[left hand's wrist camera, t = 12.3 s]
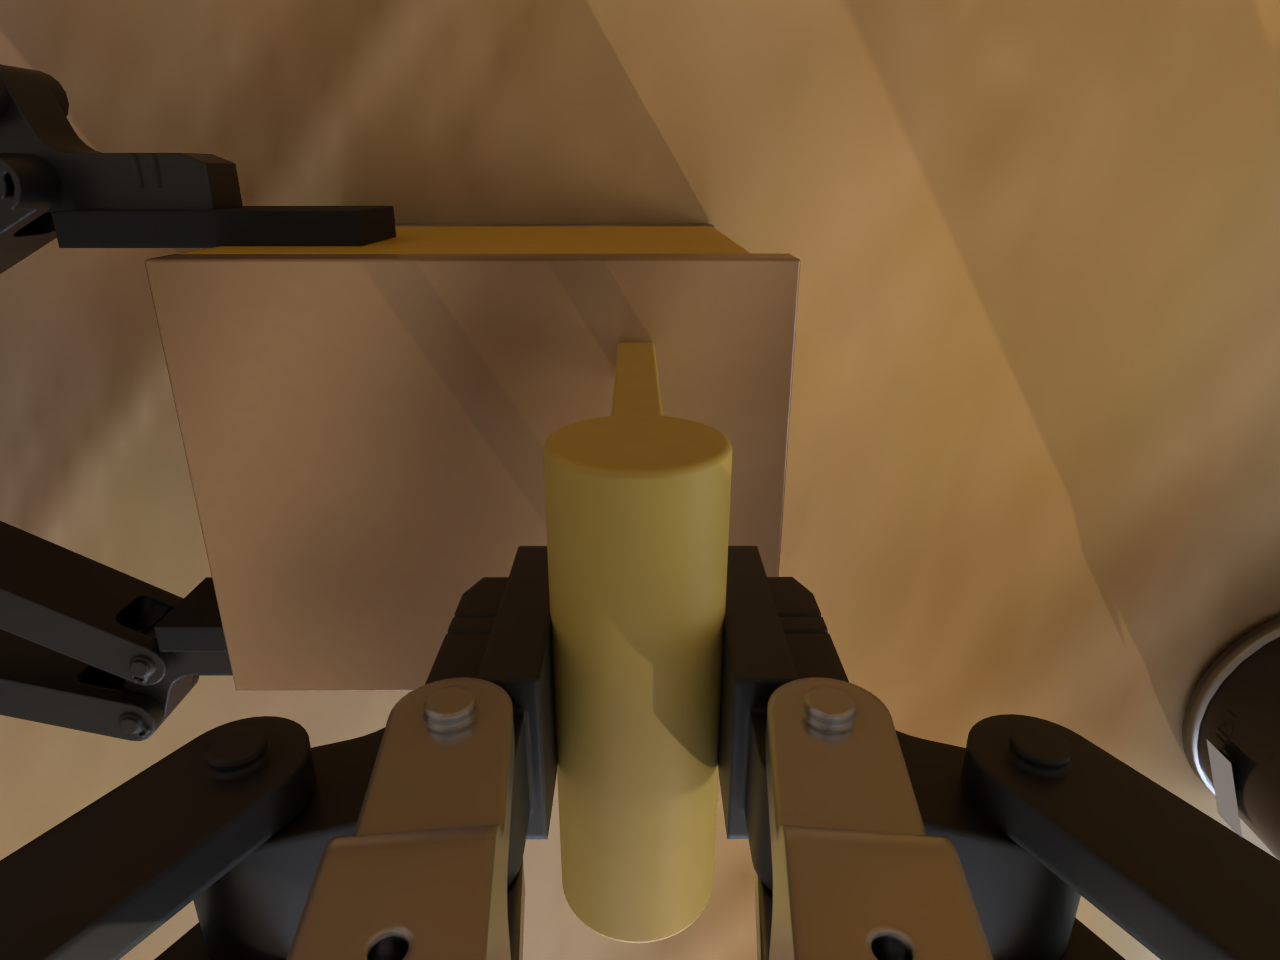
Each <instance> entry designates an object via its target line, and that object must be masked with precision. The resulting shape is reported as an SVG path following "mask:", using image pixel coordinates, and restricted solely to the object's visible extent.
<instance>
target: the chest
mask: <svg viewBox="0 0 1280 960" xmlns="http://www.w3.org/2000/svg"><path fill="white" fill-rule="evenodd" d="M395 229H396V237H394V238H391V239H387V240H383V241H380V242H376V243H372V244H368V245H365V246H220V247H214V248H209V249H203V250H197V251H192V252H186V253H182V254H751V253H749V252H748V251H746V250H745V249H743V248H742V247H741V246H739V245H738V244H736V243H735V242H733V241H732V240H731V239H729V238H728V237H726V236H725V235H723V234H722V233H721V232H719V231H718V230H716V229H715V228H714V226H713V225H712V224H395Z"/></svg>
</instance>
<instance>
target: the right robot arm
mask: <svg viewBox="0 0 1280 960" xmlns="http://www.w3.org/2000/svg"><path fill="white" fill-rule="evenodd" d="M68 107H69V103H68V99H67V95H66V92H65V91H64V89H63V88H62V86H61V85H60V83H59V82H58V81H57V80H55V79H54V78H53V77H52V76H50V75H49V74H46V73H43V72H40V71H36V70H30V69H24V68H18V67H12V66H6V65H0V274H1V273H3V272H4V271H6V270H7V269H9V268H10V267H12V266H13V265H15V264H17V263H18V262H20V261H21V260H23V259H24V258H26V257H27V256H29V255H30V254H32V253H33V252H35V251H37V250H38V249H40V248H41V247H43V246H44V245H46V244H47V243H49V242H50V241H52V240H53V239H55V238H57V239H58V243H59V247H60V248H214V247H220V246H365V245H368V244H372V243H376V242H380V241H383V240H387V239H391V238H394V237H396V229H395V220H394V210H393V206H242V200H241V194H240V188H239V182H238V176H237V170H236V164H235V163H232V162H230V161H227V160H225V159H222V158H220V157H217V156H215V155H212V154H191V153H101V152H98V151H95V150H93V149H92V148H90V147H89V146H87V145H86V144H85V143H84V142H83V141H82V140H81V139H80V138H79V137H78V136H77V134H76V133H75V131H74V130H73V128H72V126H71V125H70V123H69V121H68V119H67V118H66V116H67V115H68ZM199 675H233V673H232V668H231V664H230V659H229V654H228V650H227V645H226V640H225V636H224V631H223V626H222V622H221V617H220V612H219V607H218V603H217V598H216V593H215V589H214V584H213V579H212V578H205V579H204V580H203V581H202V582H201V583H200V584H199V585H198V586H197V587H196V588H195V589H194V590H193V591H192V592H190V593H189V594H188V595H187V596H186V597H185V598H184V599H183V598H181V597H179V596H176V595H174V594H172V593H169V592H167V591H164V590H162V589H160V588H157V587H155V586H153V585H150V584H148V583H146V582H143V581H141V580H139V579H136V578H134V577H131V576H129V575H127V574H124V573H122V572H120V571H117V570H115V569H113V568H110V567H108V566H106V565H103V564H101V563H98V562H96V561H94V560H91V559H89V558H87V557H84V556H82V555H80V554H77V553H75V552H73V551H70V550H68V549H65V548H63V547H61V546H58V545H56V544H54V543H51V542H49V541H47V540H44V539H42V538H40V537H37V536H35V535H32V534H30V533H28V532H25V531H23V530H21V529H18V528H16V527H14V526H11V525H9V524H7V523H4V522H2V521H0V715H5V716H10V717H15V718H20V719H25V720H30V721H35V722H40V723H45V724H50V725H55V726H60V727H65V728H70V729H75V730H80V731H86V732H91V733H96V734H101V735H106V736H111V737H116V738H121V739H126V740H131V741H142V740H145V739H148V738H149V737H150V736H151V735H152V734H153V733H154V732H155V731H156V730H157V728H158V727H159V726H160V725H161V724H162V723H163V722H164V720H165V719H166V718H167V717H168V716H169V715H170V713H171V712H172V711H173V710H174V709H175V708H176V706H177V705H178V704H179V703H180V702H181V701H182V700H183V698H184V697H185V696H186V695H187V694H188V693H189V691H190V690H191V689H192V688H193V687H194V686H195V684H196V683H197V682H198V679H199Z"/></svg>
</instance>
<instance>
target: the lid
mask: <svg viewBox="0 0 1280 960" xmlns="http://www.w3.org/2000/svg"><path fill="white" fill-rule="evenodd" d="M145 265H146V270H147V274H148V279H149V284H150V289H151V293H152V298H153V303H154V307H155V312H156V317H157V321H158V326H159V331H160V335H161V340H162V345H163V350H164V354H165V359H166V364H167V368H168V373H169V378H170V382H171V387H172V392H173V396H174V401H175V406H176V410H177V415H178V420H179V425H180V429H181V434H182V439H183V443H184V448H185V453H186V457H187V462H188V467H189V471H190V476H191V481H192V486H193V490H194V495H195V500H196V504H197V509H198V514H199V518H200V523H201V528H202V532H203V537H204V542H205V546H206V551H207V556H208V561H209V565H210V570H211V575H212V579H213V584H214V589H215V593H216V598H217V603H218V607H219V612H220V617H221V622H222V626H223V631H224V636H225V640H226V645H227V650H228V654H229V659H230V664H231V668H232V673H233V678H234V682H235V687H236V691H238V692H244V691H413V690H415V689H417V688H419V687H421V686H423V685H425V683H426V681H427V678H428V676H429V673H430V671H431V669H432V666H433V664H434V661H435V659H436V657H437V654H438V652H439V650H440V647H441V645H442V642H443V640H444V638H445V635H446V634H448V628H449V626H450V623H451V621H452V618H454V617H455V611H456V609H457V607H458V604H459V602H460V599H461V597H462V595H463V593H465V592H466V591H467V590H468V589H470V588H471V587H472V586H473V585H475V584H476V583H477V582H478V581H480V580H481V579H482V578H483V577H509V574H510V571H511V568H512V565H513V562H514V559H515V556H516V553H517V550H518V547H519V546H547V554H548V576H549V598H550V614H551V624H552V646H553V668H554V690H555V713H556V735H557V757H558V766H557V774H558V796H559V818H560V840H561V862H562V883H563V890H564V894H565V897H566V899H567V901H568V904H569V906H570V907H571V909H572V910H573V912H574V913H575V914H576V916H577V917H578V918H579V919H580V920H581V921H582V922H583V923H584V924H585V925H586V926H588V927H589V928H590V929H592V930H593V931H595V932H597V933H598V934H600V935H603V936H605V937H607V938H610V939H614V940H617V941H622V942H628V943H647V942H653V941H659V940H662V939H665V938H669V937H671V936H673V935H675V934H677V933H679V932H681V931H682V930H684V929H686V928H687V927H688V926H689V925H691V924H692V923H693V922H694V921H695V920H696V919H697V918H698V917H699V916H700V914H701V913H702V911H703V910H704V908H705V907H706V906H707V903H708V901H709V899H710V897H711V893H712V890H713V883H714V862H715V839H716V816H717V793H718V747H719V723H720V700H721V677H722V653H723V630H724V617H725V609H726V586H727V562H728V546H757V547H758V550H759V553H760V556H761V560H762V563H763V566H764V569H765V572H766V576H767V577H779V565H780V550H781V536H782V521H783V507H784V492H785V478H786V464H787V449H788V435H789V420H790V406H791V391H792V377H793V362H794V348H795V333H796V319H797V304H798V290H799V275H800V259H798V258H796V257H794V256H792V255H790V254H173V255H168V256H162V257H156V258H151V259H147V260H145Z"/></svg>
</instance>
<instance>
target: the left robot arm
mask: <svg viewBox="0 0 1280 960" xmlns="http://www.w3.org/2000/svg"><path fill="white" fill-rule="evenodd" d="M1182 736H1183V746H1184V751H1185V754H1186V757H1187V760H1188V762H1189V764H1190V766H1191V768H1192V769H1193V771H1194V772H1195V774H1196V775H1197V776H1198V777H1199V778H1200V780H1201V781H1202V782H1203V783H1204V784H1205V785H1206V786H1207V787H1208V788H1209V789H1210V790H1211V792H1212V793H1213V794H1214V795H1215V796H1216V803H1217V809H1218V814H1219V815H1220V816H1221V817H1222V818H1223V819H1224V820H1225V821H1226V822H1227V824H1228V825H1229V826H1230V827H1231V828H1232V829H1233V830H1234V831H1235V832H1236V833H1235V832H1233V831H1231V830H1230V829H1228V828H1227V827H1225V826H1224V825H1222V824H1220V823H1219V822H1217V821H1216V820H1214V819H1212V818H1211V817H1209V816H1208V815H1206V814H1204V813H1203V812H1201V811H1200V810H1198V809H1196V808H1195V807H1193V806H1192V805H1190V804H1188V803H1187V802H1185V801H1184V800H1182V799H1181V798H1179V797H1177V796H1176V795H1174V794H1173V793H1171V792H1169V791H1168V790H1166V789H1165V788H1163V787H1161V786H1160V785H1158V784H1157V783H1155V782H1153V781H1152V780H1150V779H1149V778H1147V777H1145V776H1144V775H1142V774H1141V773H1139V772H1137V771H1136V770H1134V769H1133V768H1131V767H1130V766H1128V765H1126V764H1125V763H1123V762H1122V761H1120V760H1118V759H1117V758H1115V757H1114V756H1112V755H1110V754H1109V753H1107V752H1106V751H1104V750H1102V749H1101V748H1099V747H1098V746H1096V745H1094V744H1093V743H1091V742H1090V741H1088V740H1086V739H1085V738H1083V737H1082V736H1080V735H1078V734H1077V733H1075V732H1073V731H1071V730H1069V729H1067V728H1065V727H1063V726H1061V725H1058V724H1055V723H1053V722H1050V721H1047V720H1043V719H1039V718H1036V717H1030V716H1024V715H1013V714H1011V715H997V716H992V717H988V718H985V719H983V720H981V721H979V722H978V723H976V724H975V725H974V726H973V727H972V729H971V730H970V732H969V735H968V740H967V746H966V748H962V747H958V746H953V745H948V744H944V743H939V742H934V741H930V740H925V739H921V738H917V737H913V736H910V735H907V734H904V733H901V732H899V731H896V730H895V727H894V724H893V721H892V717H891V715H890V713H889V710H888V709H887V708H886V706H885V705H884V704H883V703H882V702H881V701H880V700H879V699H878V698H877V697H876V696H874V695H873V694H872V693H870V692H869V691H867V690H865V689H863V688H861V687H859V686H857V685H854V684H852V683H849V681H848V679H847V676H846V674H845V671H844V669H843V666H842V664H841V661H840V659H839V656H838V654H837V652H836V649H835V647H834V644H833V642H832V639H831V637H830V634H828V632H827V627H826V625H825V622H824V620H823V617H821V612H820V610H819V608H818V605H817V603H816V600H815V598H814V595H813V594H812V593H811V592H810V591H809V590H808V589H806V588H805V587H804V586H803V585H801V584H800V583H799V582H798V581H797V580H795V579H794V578H793V577H767V576H766V572H765V569H764V566H763V563H762V560H761V556H760V553H759V550H758V547H757V546H728V562H727V586H726V609H725V617H724V630H723V653H722V677H721V700H720V723H719V747H718V771H719V778H720V786H721V794H722V801H723V809H724V817H725V825H726V832H727V839H749V844H750V850H751V856H752V862H753V865H754V869H755V871H756V884H755V905H756V933H757V960H1125V959H1124V958H1123V957H1122V956H1121V955H1119V954H1118V953H1117V952H1116V951H1115V950H1113V949H1112V948H1111V947H1110V946H1109V945H1107V944H1106V943H1105V942H1104V941H1103V940H1101V939H1100V938H1099V937H1098V936H1097V935H1095V934H1094V933H1093V932H1092V931H1091V930H1090V929H1088V928H1087V927H1086V926H1085V925H1084V924H1082V923H1081V922H1080V921H1079V920H1078V919H1076V918H1075V916H1076V912H1077V908H1078V904H1079V900H1080V897H1081V896H1083V897H1084V898H1085V899H1086V900H1088V901H1089V902H1090V903H1091V904H1093V905H1094V906H1095V907H1096V908H1098V909H1099V910H1100V911H1101V912H1102V913H1104V914H1105V915H1106V916H1107V917H1109V918H1110V919H1111V920H1112V921H1114V922H1115V923H1116V924H1117V925H1119V926H1120V927H1121V928H1122V929H1124V930H1125V931H1126V932H1127V933H1129V934H1130V935H1131V936H1132V937H1134V938H1135V939H1136V940H1137V941H1139V942H1140V943H1141V944H1142V945H1143V946H1145V947H1146V948H1147V949H1148V950H1150V951H1151V952H1152V953H1153V954H1155V955H1156V956H1157V957H1158V958H1160V959H1161V960H1280V616H1279V617H1277V618H1274V619H1272V620H1270V621H1268V622H1266V623H1264V624H1262V625H1261V626H1259V627H1257V628H1255V629H1253V630H1252V631H1250V632H1249V633H1247V634H1246V635H1244V636H1243V637H1241V638H1240V639H1239V640H1237V641H1236V642H1235V643H1234V644H1232V645H1231V646H1230V647H1229V648H1228V649H1227V650H1225V651H1224V652H1223V653H1222V654H1221V655H1220V656H1219V657H1218V658H1217V659H1216V660H1215V661H1214V662H1213V663H1212V665H1211V666H1210V667H1209V668H1208V670H1207V671H1206V672H1205V673H1204V675H1203V676H1202V678H1201V679H1200V681H1199V682H1198V684H1197V686H1196V688H1195V689H1194V691H1193V693H1192V695H1191V698H1190V700H1189V702H1188V705H1187V708H1186V711H1185V716H1184V721H1183V730H1182ZM557 766H558V757H557V735H556V713H555V690H554V668H553V646H552V624H551V614H550V598H549V576H548V554H547V546H519V547H518V550H517V553H516V556H515V559H514V562H513V565H512V568H511V571H510V574H509V577H483V578H482V579H481V580H480V581H478V582H477V583H476V584H475V585H473V586H472V587H471V588H470V589H468V590H467V591H466V592H465V593H463V595H462V597H461V599H460V602H459V604H458V607H457V609H456V611H455V617H454V618H452V621H451V623H450V626H449V628H448V634H446V635H445V638H444V640H443V642H442V645H441V647H440V650H439V652H438V654H437V657H436V659H435V661H434V664H433V666H432V669H431V671H430V673H429V676H428V678H427V681H426V683H425V685H423V686H421V687H419V688H417V689H415V690H413V691H411V692H410V693H408V694H407V695H406V696H404V697H403V698H402V699H401V700H400V701H399V702H398V703H397V704H396V705H395V706H394V708H393V709H392V710H391V713H390V715H389V717H388V721H387V724H386V727H385V728H383V729H381V730H379V731H376V732H374V733H371V734H368V735H365V736H362V737H359V738H355V739H351V740H346V741H342V742H337V743H332V744H328V745H323V746H318V747H314V748H311V747H310V741H309V736H308V734H307V732H306V730H305V729H304V728H303V727H302V726H301V725H300V724H298V723H296V722H294V721H292V720H289V719H286V718H281V717H270V716H263V717H252V718H246V719H241V720H237V721H233V722H230V723H227V724H224V725H221V726H218V727H216V728H214V729H212V730H210V731H207V732H206V733H204V734H202V735H200V736H198V737H197V738H195V739H193V740H192V741H190V742H189V743H187V744H186V745H184V746H182V747H181V748H179V749H178V750H176V751H174V752H173V753H171V754H170V755H168V756H166V757H165V758H163V759H162V760H160V761H158V762H157V763H155V764H154V765H152V766H150V767H149V768H147V769H146V770H144V771H142V772H141V773H139V774H138V775H136V776H135V777H133V778H131V779H130V780H128V781H127V782H125V783H123V784H122V785H120V786H119V787H117V788H115V789H114V790H112V791H111V792H109V793H107V794H106V795H104V796H103V797H101V798H99V799H98V800H96V801H95V802H93V803H92V804H90V805H88V806H87V807H85V808H84V809H82V810H80V811H79V812H77V813H76V814H74V815H72V816H71V817H69V818H68V819H66V820H64V821H63V822H61V823H60V824H58V825H56V826H55V827H53V828H52V829H50V830H48V831H47V832H45V833H44V834H42V835H41V836H39V837H37V838H36V839H34V840H33V841H31V842H29V843H28V844H26V845H25V846H23V847H21V848H20V849H18V850H17V851H15V852H13V853H12V854H10V855H9V856H7V857H5V858H4V859H2V860H1V861H0V960H119V959H120V958H122V957H123V956H124V955H125V954H127V953H128V952H129V951H130V950H132V949H133V948H134V947H135V946H136V945H138V944H139V943H140V942H141V941H143V940H144V939H145V938H146V937H148V936H149V935H150V934H151V933H153V932H154V931H155V930H156V929H158V928H159V927H160V926H161V925H163V924H164V923H165V922H166V921H168V920H169V919H170V918H171V917H173V916H174V915H175V914H176V913H177V912H179V911H180V910H181V909H182V908H184V907H185V906H186V905H187V904H189V903H190V902H191V901H192V900H194V904H195V908H196V911H197V915H198V919H199V923H198V924H196V925H195V926H194V927H193V928H192V929H190V930H189V931H188V932H187V933H186V934H184V935H183V936H182V937H181V938H180V939H179V940H177V941H176V942H175V943H174V944H173V945H171V946H170V947H169V948H168V949H167V950H165V951H164V952H163V953H162V954H161V955H159V956H158V957H157V958H156V959H155V960H523V933H524V905H525V884H524V869H523V853H524V847H525V841H526V839H548V832H549V825H550V817H551V810H552V803H553V796H554V788H555V781H556V774H557ZM1239 817H1240V818H1241V819H1242V820H1243V822H1244V823H1245V824H1246V825H1247V826H1248V827H1249V828H1250V829H1251V830H1252V831H1253V832H1254V833H1255V834H1256V835H1257V837H1258V838H1259V839H1260V840H1261V841H1262V842H1263V843H1264V844H1265V845H1266V846H1267V847H1268V849H1269V850H1270V851H1271V852H1272V853H1273V855H1274V856H1275V857H1276V858H1277V859H1276V858H1275V857H1273V856H1271V855H1270V854H1268V853H1267V852H1265V851H1263V850H1262V849H1260V848H1259V847H1257V846H1255V845H1254V844H1252V843H1251V842H1249V841H1247V840H1246V839H1244V838H1243V837H1242V834H1241V827H1240V820H1239Z"/></svg>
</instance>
